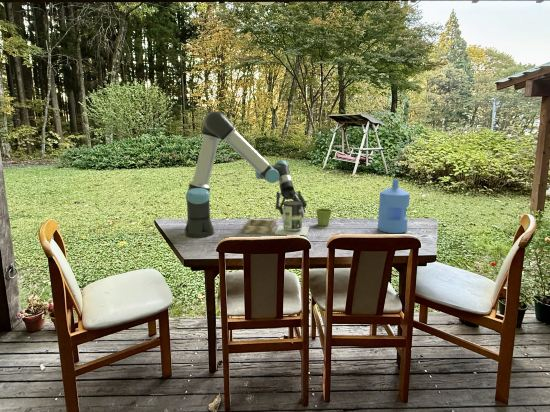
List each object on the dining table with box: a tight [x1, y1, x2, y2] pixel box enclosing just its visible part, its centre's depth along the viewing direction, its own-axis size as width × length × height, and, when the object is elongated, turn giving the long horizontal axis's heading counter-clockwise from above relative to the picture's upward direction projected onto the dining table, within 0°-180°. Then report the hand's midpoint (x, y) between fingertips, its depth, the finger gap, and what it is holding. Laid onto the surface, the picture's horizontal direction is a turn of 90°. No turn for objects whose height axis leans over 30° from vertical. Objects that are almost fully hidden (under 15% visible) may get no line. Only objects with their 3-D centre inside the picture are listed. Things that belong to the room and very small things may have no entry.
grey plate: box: [274, 224, 310, 237], centre depth 210 cm, size 17×17×1 cm
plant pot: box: [315, 208, 333, 227], centre depth 222 cm, size 9×9×9 cm
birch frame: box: [242, 218, 277, 235], centre depth 213 cm, size 15×15×4 cm
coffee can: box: [282, 200, 303, 230], centre depth 208 cm, size 10×10×14 cm
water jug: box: [377, 179, 411, 234], centre depth 210 cm, size 16×16×28 cm
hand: (294, 218), depth 206 cm, fingers closed on coffee can, 10 cm apart
